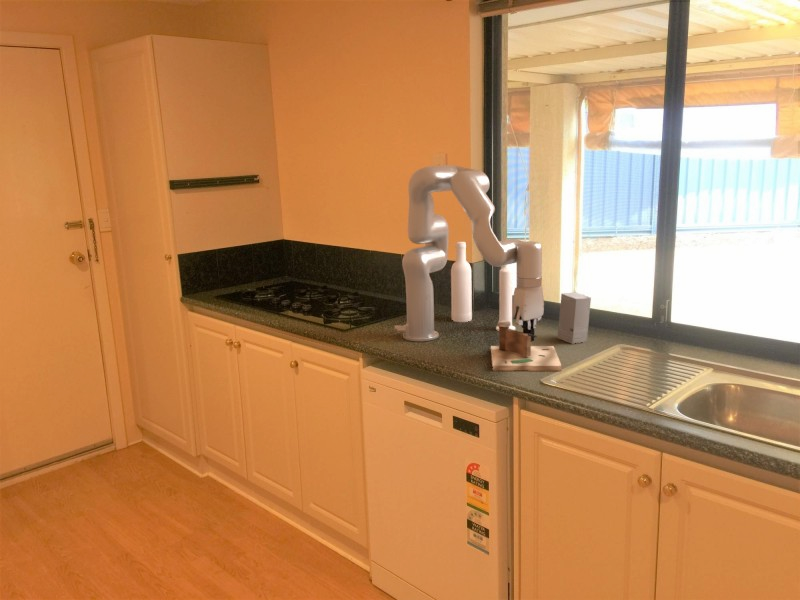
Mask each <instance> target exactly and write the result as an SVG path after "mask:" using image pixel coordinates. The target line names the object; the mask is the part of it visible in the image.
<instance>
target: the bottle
mask: <svg viewBox="0 0 800 600" xmlns="http://www.w3.org/2000/svg"><path fill="white" fill-rule="evenodd" d="M466 244H467V243H466V242H465V241H457V242H456V243H455V248H456V249H455V254H456V259H455V260H456V261H454V263H453V264H452V266H451V269H450V284H451V286H450V288H451V290H450V291H451V293H450V295H451V302H450V303H451V311H450V312H451V313H450V314H451V315H450V316H451V321H452V320H453V321H452V322H454V323H455V322H456V323H467V322H468V321H469V322H472V320H473V319H472V318H473V309H472V308H473V307H472V306H473V305H472V303H473V302H472V299H473V297H472V296H473V294H472V289H473V288H472V287H473V286H472V267H471V265H470V263H469V262H468V261H467V251H466V248H467V245H466Z"/></svg>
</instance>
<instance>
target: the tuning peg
mask: <svg viewBox="0 0 800 600" xmlns="http://www.w3.org/2000/svg"><path fill="white" fill-rule="evenodd" d="M497 326H499V331H498V346H499V350H503V351H505V350H508V351H511V352H514V353H517V354H520V355H523V356H526V357H528V356H531V346H532V345H531V343H532V342H531V337H534V339H536V338H537V337H538V335H536V334H534V335H532V334H526V333H523V331H518V330H516V329H515V330H512V329H509V326H510V322H509V321H499V320H498V321H497Z"/></svg>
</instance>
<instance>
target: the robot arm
mask: <svg viewBox="0 0 800 600" xmlns="http://www.w3.org/2000/svg"><path fill="white" fill-rule="evenodd" d="M490 184H491V183H490V179H489V177H488V175H487V174H486V173H485V172H483V171H481V170H479V169H474V168H469V167H465V166H459V165H453V164H445V165H443V164H442V165H429V166H423V167H421V168H419V169H417V170H416V171H414V172H413V173H412V174H411V176H410V178H409V181H408V186H407V187H408V190H407V191H408V216H407V217H408V219H407V220H408V221H407V236H408V238H409V241H410V242H411V243H413V244H416V245H423V246H418V247H414V248H411V249H409V250H408V251H406V252H405V254H404V255H403V257H402V261H401V262H402V263H401V265H402V270H403V274H404V281H405V294H406V295H405V296H406V297H405V298H406V302H405V303H406V324H403V325H399V324H398V325H394V331H395V332H397V333H402V337H403V339H404V340H406V341H411V342H429V341H434V340H436V339H438V338H439V336H440V334H439V332H438V330H437V331H436V330H435V312H434V311H435V305H434V303H435V301H434V285H433V281H432V278H431V276H430V274H431V273H435V272H438V271H439V272H440V271H441V270H443V269H444V268H445V266H446V264H447V262H448V257H449V256H448V255H449V240H450V239H449V238H450V236H449V235H450V228H449V224H448V221H447V220H446V218H445V217H444V216H442V215H441V214H438V213H435V211H434V210H435V202H434V198H433V196H432V193H438V192H439V193H440V192H450V191H451V192H452V194H453V195H454V196H455V198H456V199H457V201H458V203H459V204H460V206H461V207H462V209H463V211H464V212H465V214H466V215H467V217H468V218H469V220H470V221H471V233H472V238H473V241H474V242H473V243H474V244H475V246H476V248H477V249H478V252H479V253H480V255H481V256H482V257H483V259H484V260H485V261H486V262H487V263H488V264H489V266H493V267H497V268H500V267H504V265H512V264H515V263H516V286H515V287H514V290H513V294H512V320H515V325H518V326H520V327H521V328H522V333H526V334H532V335H535V329H536V327H537V323H538V322H539V321H541V320H542V316H544V310H545V308H544V307H545V302H544V301H545V300H544V290H543V289H544V288H543V285H542V283H543V282H542V281H543V278H542V277H543V276H542V275H543V274H542V273H543V272H542V271H543V267H542V266H543V247H542V243H541V242H540V241H539V242H538V241H532V240H531V241H529V240H528V241H524V240H520V239H516V238H508V239H504V240H499V239H498V237H497V236H496V234H495V233H494V230H493V229H492V225H491V217H492V216H493V214H494V213H495V211H496V208H495V205H494V203H493V202H492V201H491V199H490V198H489V196H488V195H487V193H488V191H489V189H490ZM424 244H425V245H424ZM534 341H535V337H531V343H532V342H534Z"/></svg>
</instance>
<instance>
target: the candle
mask: <svg viewBox="0 0 800 600" xmlns="http://www.w3.org/2000/svg"><path fill="white" fill-rule="evenodd" d="M508 265H509V264H508ZM508 265H504V266H502V268H501V269H499V274H498V275H499V279H498V280H499V283H498V284H499V287H498V289H499V294H498V295H499V299H498V303H499V306H498V307H499V320H498V322H499V321H509V322H510V326H509V329H512V330H515V331H516V326H514V325H513V318H512V305H513V269H511V267H509V266H508ZM495 330H496V331H497V332H499V326H498V325H496V327H495Z"/></svg>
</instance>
